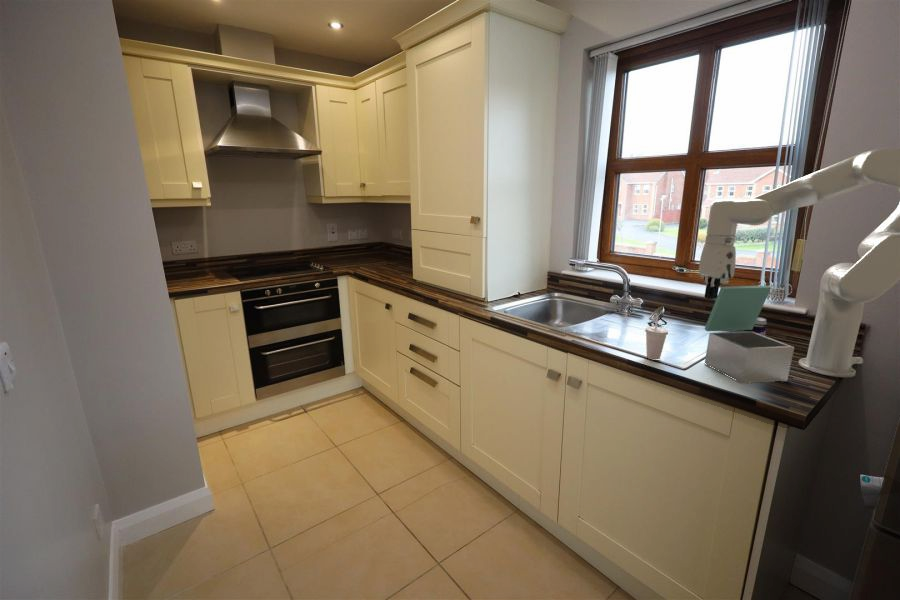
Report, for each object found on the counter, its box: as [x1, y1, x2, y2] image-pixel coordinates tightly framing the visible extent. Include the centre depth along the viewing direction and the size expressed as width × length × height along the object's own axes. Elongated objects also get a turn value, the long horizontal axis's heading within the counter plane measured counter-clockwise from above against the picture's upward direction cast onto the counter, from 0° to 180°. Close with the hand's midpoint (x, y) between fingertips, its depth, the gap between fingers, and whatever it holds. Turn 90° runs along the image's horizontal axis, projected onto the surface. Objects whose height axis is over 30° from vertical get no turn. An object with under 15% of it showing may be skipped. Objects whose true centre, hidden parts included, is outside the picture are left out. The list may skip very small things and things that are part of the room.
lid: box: [704, 285, 772, 332], centre depth 122 cm, size 15×14×2 cm
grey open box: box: [704, 330, 795, 384], centre depth 119 cm, size 14×14×10 cm
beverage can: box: [743, 316, 768, 336], centre depth 133 cm, size 6×6×12 cm
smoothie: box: [644, 314, 669, 359], centre depth 129 cm, size 6×6×14 cm
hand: (710, 298), depth 132 cm, fingers closed
